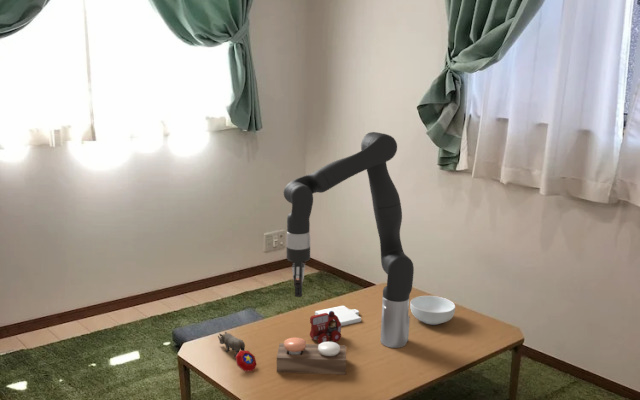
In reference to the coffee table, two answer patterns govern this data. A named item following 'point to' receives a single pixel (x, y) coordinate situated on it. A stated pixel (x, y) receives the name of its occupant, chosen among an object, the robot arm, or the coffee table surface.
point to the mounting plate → (343, 314)
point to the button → (246, 360)
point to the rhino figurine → (231, 342)
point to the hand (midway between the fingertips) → (298, 295)
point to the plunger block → (311, 361)
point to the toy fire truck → (325, 327)
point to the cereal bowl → (432, 309)
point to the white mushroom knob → (328, 348)
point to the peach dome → (295, 345)
